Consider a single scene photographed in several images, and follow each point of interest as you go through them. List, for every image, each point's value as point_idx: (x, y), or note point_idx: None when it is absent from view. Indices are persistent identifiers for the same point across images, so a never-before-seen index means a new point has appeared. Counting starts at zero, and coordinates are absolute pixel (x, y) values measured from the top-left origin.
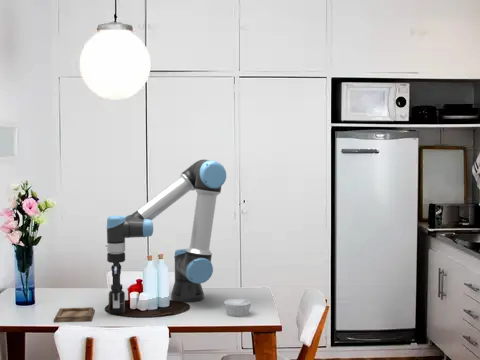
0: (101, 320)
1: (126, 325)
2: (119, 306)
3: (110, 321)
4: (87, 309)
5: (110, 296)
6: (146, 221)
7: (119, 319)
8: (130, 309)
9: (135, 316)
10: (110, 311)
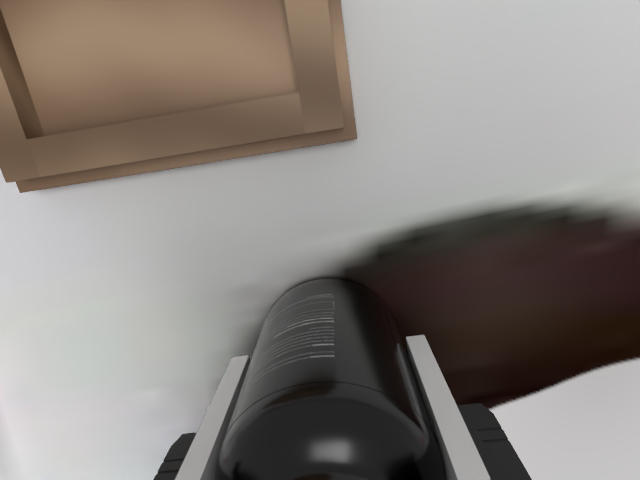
0: (83, 265)
1: (8, 449)
2: None
3: (73, 336)
4: (297, 70)
5: (239, 410)
6: None
7: (139, 386)
8: None
9: None
10: (273, 308)
